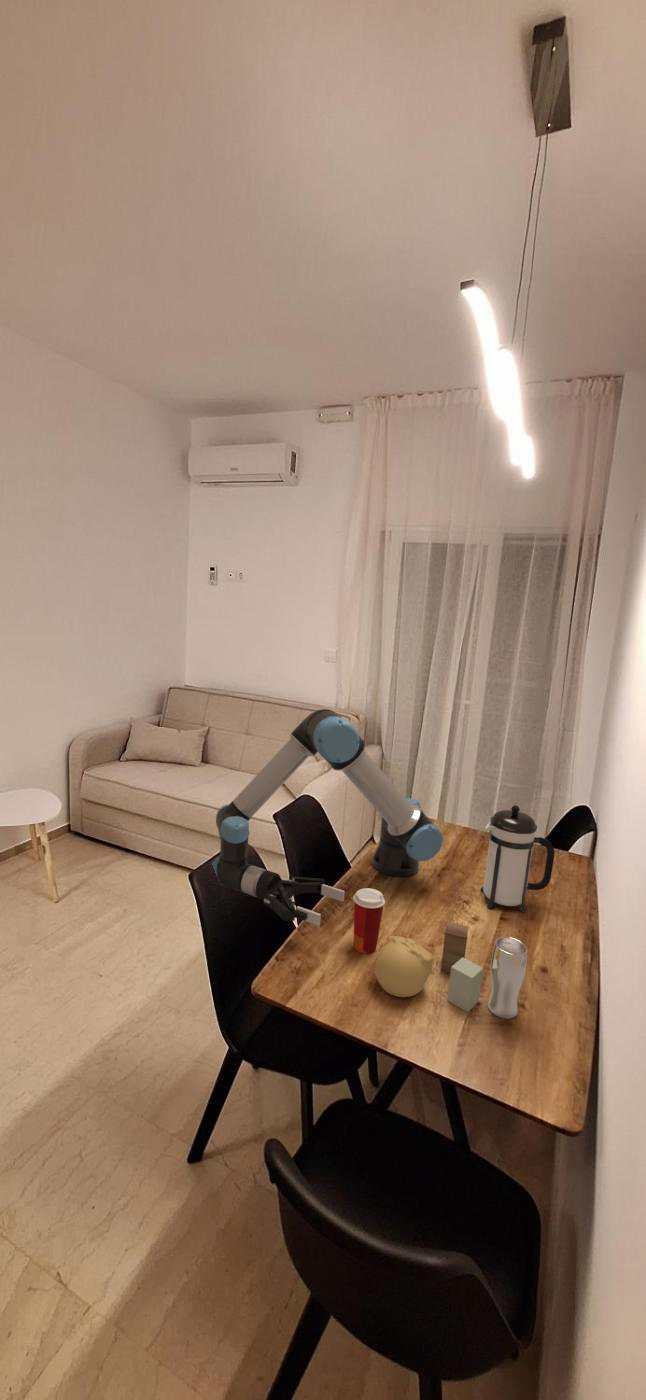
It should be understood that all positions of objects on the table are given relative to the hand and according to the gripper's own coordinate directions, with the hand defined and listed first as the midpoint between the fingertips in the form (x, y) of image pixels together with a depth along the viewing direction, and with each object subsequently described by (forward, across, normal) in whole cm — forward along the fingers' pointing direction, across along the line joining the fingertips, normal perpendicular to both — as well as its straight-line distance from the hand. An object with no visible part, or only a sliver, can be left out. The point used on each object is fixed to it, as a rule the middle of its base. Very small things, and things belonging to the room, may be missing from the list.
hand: (332, 907), depth 143 cm
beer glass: (+44, +4, -8) cm, 44 cm away
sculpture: (+22, +9, -8) cm, 25 cm away
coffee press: (+36, -45, -8) cm, 58 cm away
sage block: (+36, +6, -8) cm, 37 cm away
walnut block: (+30, -4, -8) cm, 32 cm away
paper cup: (+10, 0, -8) cm, 12 cm away
